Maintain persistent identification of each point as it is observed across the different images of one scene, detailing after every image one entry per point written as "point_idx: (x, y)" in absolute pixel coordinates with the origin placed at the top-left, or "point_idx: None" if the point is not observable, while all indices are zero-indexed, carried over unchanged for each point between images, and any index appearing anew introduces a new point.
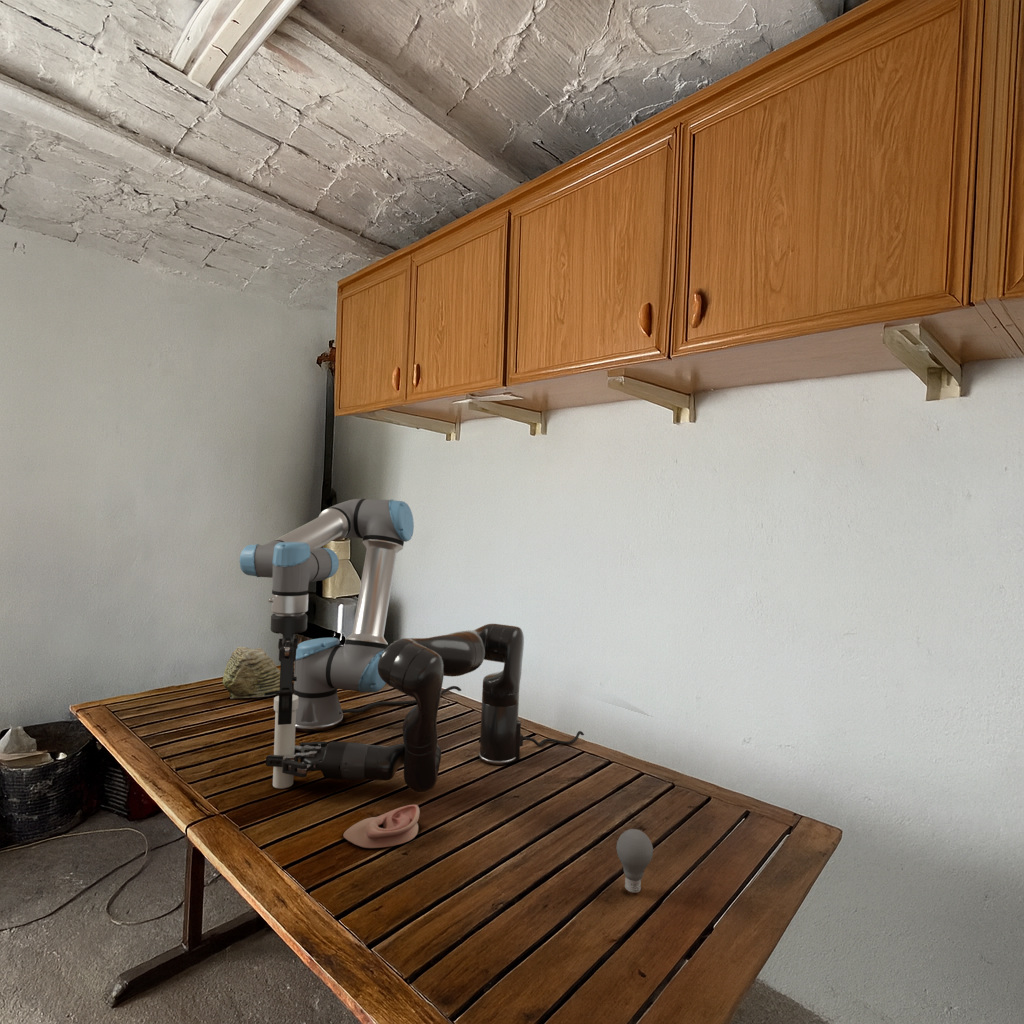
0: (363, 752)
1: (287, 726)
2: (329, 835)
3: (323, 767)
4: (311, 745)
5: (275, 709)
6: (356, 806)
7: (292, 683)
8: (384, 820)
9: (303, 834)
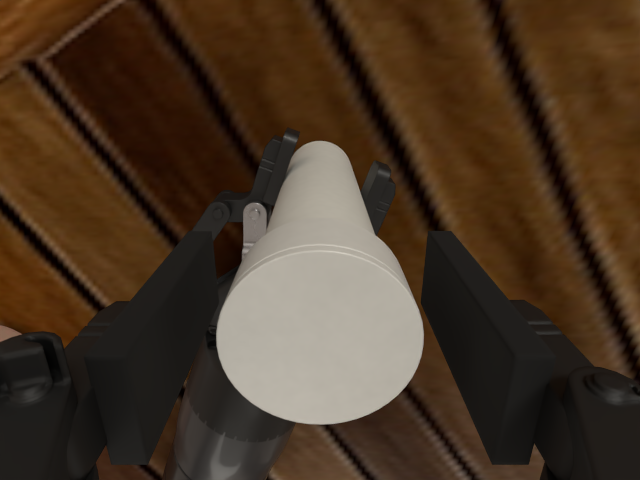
0: (187, 466)
1: None
2: (6, 294)
3: None
4: None
5: (267, 237)
6: None
7: (492, 452)
8: None
9: (7, 236)
